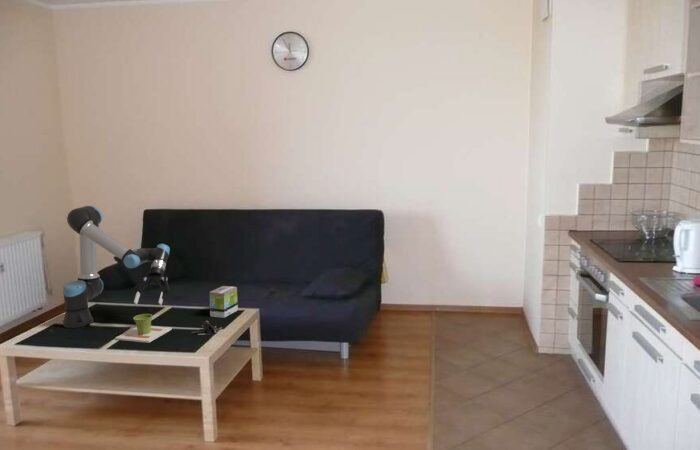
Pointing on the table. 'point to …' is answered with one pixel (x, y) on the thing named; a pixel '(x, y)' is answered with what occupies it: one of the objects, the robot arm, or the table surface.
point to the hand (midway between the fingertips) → (147, 303)
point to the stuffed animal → (207, 329)
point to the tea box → (223, 301)
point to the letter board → (147, 337)
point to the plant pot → (143, 323)
